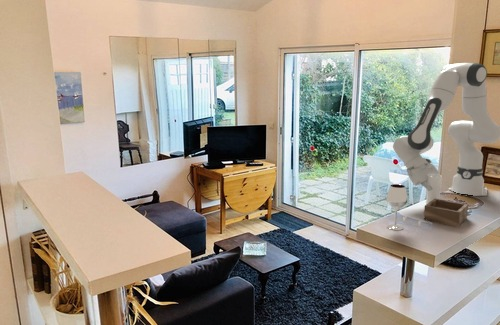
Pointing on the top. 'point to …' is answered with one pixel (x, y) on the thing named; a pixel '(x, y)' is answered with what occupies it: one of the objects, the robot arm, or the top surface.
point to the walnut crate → (445, 212)
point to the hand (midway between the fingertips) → (434, 188)
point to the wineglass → (396, 201)
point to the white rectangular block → (433, 187)
